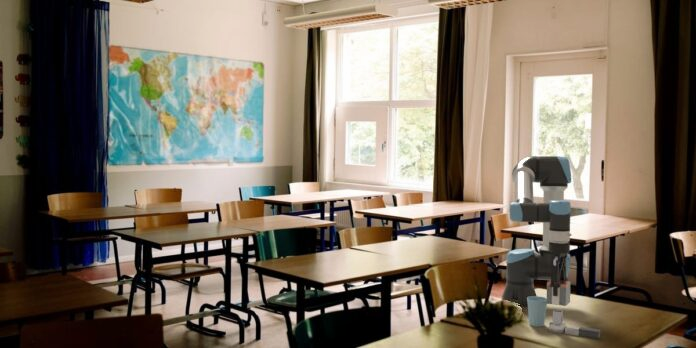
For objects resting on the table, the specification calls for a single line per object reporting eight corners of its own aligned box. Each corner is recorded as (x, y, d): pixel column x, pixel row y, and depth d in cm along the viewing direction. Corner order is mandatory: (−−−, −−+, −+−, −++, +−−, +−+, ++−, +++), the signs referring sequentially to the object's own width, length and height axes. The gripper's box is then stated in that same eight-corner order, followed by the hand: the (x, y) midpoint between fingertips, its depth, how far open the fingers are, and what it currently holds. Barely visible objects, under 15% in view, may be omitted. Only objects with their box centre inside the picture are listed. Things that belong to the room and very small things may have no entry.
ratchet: (600, 335, 251) (601, 314, 251) (597, 339, 246) (598, 318, 245) (551, 328, 260) (551, 307, 260) (547, 332, 255) (547, 311, 255)
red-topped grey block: (565, 306, 250) (566, 284, 250) (546, 303, 254) (546, 282, 253) (570, 302, 256) (570, 281, 256) (551, 299, 260) (551, 279, 259)
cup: (525, 321, 270) (526, 295, 269) (545, 322, 268) (546, 296, 267) (527, 327, 262) (527, 300, 261) (547, 328, 261) (548, 301, 260)
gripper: (563, 246, 243) (562, 309, 245) (575, 239, 261) (574, 298, 262) (542, 244, 247) (541, 306, 248) (555, 237, 264) (554, 295, 266)
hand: (558, 302), depth 255 cm, fingers closed on red-topped grey block, 7 cm apart
